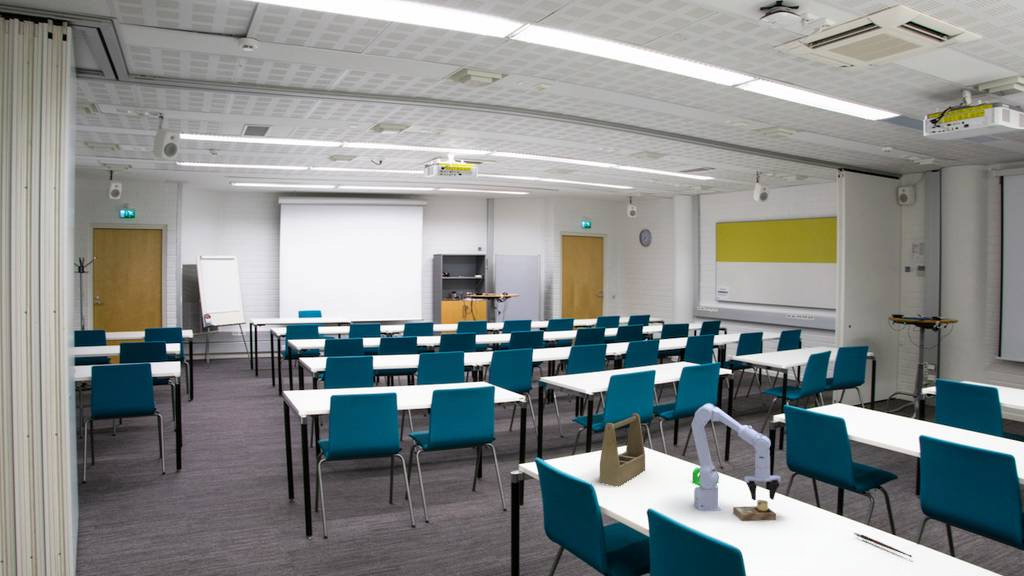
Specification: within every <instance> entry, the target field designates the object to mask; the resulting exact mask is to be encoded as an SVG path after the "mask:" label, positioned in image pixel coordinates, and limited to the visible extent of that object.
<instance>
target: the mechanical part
mask: <svg viewBox="0 0 1024 576" xmlns="http://www.w3.org/2000/svg"><path fill="white" fill-rule="evenodd" d="M699 479H700V467H695V468H694V469H693V472H692V484H694V483H695V484H694V485H697V486H698V487H700V485H701V484H700V482H699ZM716 483H718V484H719V480H718V481H717V482H716Z"/></svg>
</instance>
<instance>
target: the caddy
mask: <svg viewBox="0 0 1024 576" xmlns="http://www.w3.org/2000/svg"><path fill="white" fill-rule="evenodd" d="M628 424H629V428H628V433H627V434H628V435H627V442H626V448H625V451H624V452H622V453H619V450H618V449H619V448H618V443H617V437H616V431H615V430H616V429H619V428H621V427H624V426H626V425H628ZM604 426H605V427H604V432H603V440H602V444H601V445H602V446H601V452H600V453H601V454H600V461H599V483H600V484H602V483H604V484H603V485H606V484H608V485H607V486H611V485H613V486H612V487H616V486H618V487H617V488H620V487H621V485H622V486H623V485H625V484H626V483H628V482H629V480H630V481H631V480H633V479H635V478H637V477H638V476H639V475H641V474H643V473H644V472H645V471H646V453H645V451H646V450H645V446H644V439H643V438H644V437H643V432H642V424H641V417H640V415H639V414H638V413H632V414H631V416H630V417H628V418H626V419H624V420H621V421H617V422H616V423H612V422H607V423H606V424H605V425H604ZM643 471H644V472H643ZM642 472H643V473H642ZM640 473H641V474H640ZM637 475H638V476H637ZM634 477H635V478H634ZM632 478H633V479H632ZM627 481H628V482H627ZM624 483H625V484H624ZM619 486H620V487H619Z"/></svg>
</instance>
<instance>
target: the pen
mask: <svg viewBox="0 0 1024 576" xmlns="http://www.w3.org/2000/svg"><path fill="white" fill-rule="evenodd" d="M853 535H855V536H857V537H858V538H861V539H864V540H866V541H869V542H872V543H874V544H876V545H878V546H881V547H884V548H886V549H889V550H892V551H894V552H898V553H900V554H903V555H906V556H908V557H910V558H912V556H913V555H911V554H908V553H906V552H904V551H901V550H899V549H896V548H895V547H892V546H891V545H888V544H885V543H883V542H881V541H878V540H875V539H873V538H871V537H868V536H866V535H863V534H859V533H857V532H853Z"/></svg>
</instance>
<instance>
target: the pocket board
mask: <svg viewBox="0 0 1024 576" xmlns="http://www.w3.org/2000/svg"><path fill="white" fill-rule="evenodd" d="M732 508H733V509H732V510H733V511H732V512H733V513H732V514H734V515H735V516H737V518H738V519H739V520H741V521H742V522H743V521H745V522H747V521H748V522H749V521H750V522H751V521H776V520H777V516H776V515H777V513H776V512H774V511H773V509H770V508H769V507H768V512H762V513H759V512H758V511H757V506H753V505H752V506H733V507H732Z"/></svg>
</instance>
